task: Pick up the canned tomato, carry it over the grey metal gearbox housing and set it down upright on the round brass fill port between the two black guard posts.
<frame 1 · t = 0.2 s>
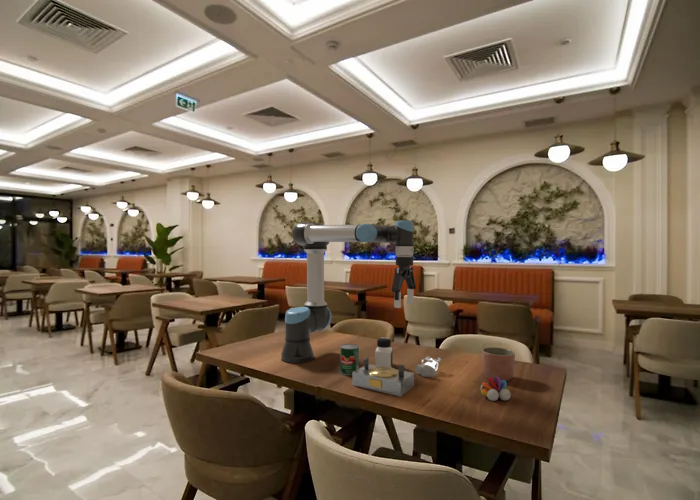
hand: (404, 305, 160), 27 cm above the table, fingers open, 13 cm apart
gearbox: (383, 385, 141), on the table
canned tomato: (349, 372, 156), on the table
planter: (497, 378, 150), on the table
medicine bottle: (383, 365, 165), on the table
rainbow wheeled toy: (495, 398, 131), on the table
figurine: (429, 374, 155), on the table
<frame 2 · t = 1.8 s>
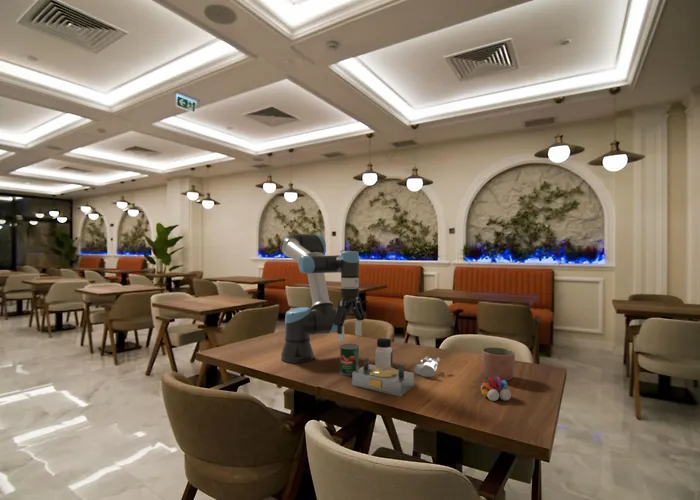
hand: (349, 338, 156), 14 cm above the table, fingers open, 13 cm apart
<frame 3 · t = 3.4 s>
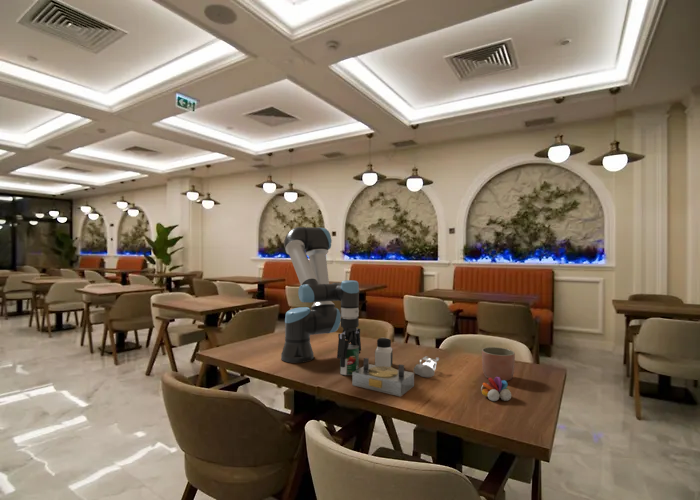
hand: (349, 371, 156), 0 cm above the table, fingers closed on canned tomato, 8 cm apart
canned tomato: (349, 372, 156), on the table, touching gripper
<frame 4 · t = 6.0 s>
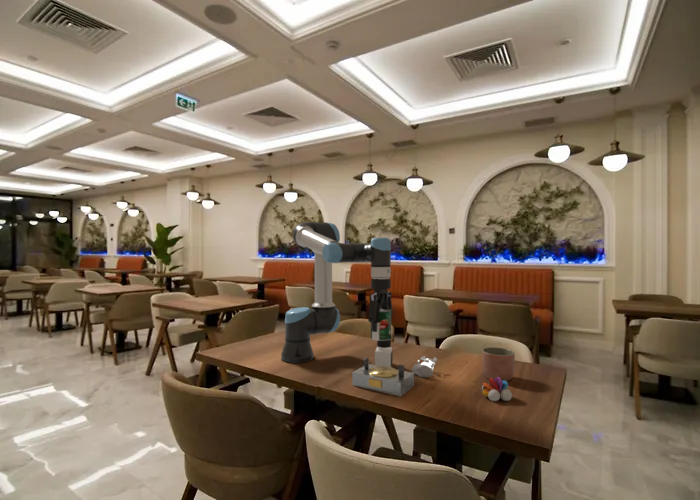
hand: (381, 337, 142), 18 cm above the table, fingers closed on canned tomato, 8 cm apart
canned tomato: (381, 338, 142), point 18 cm above the table, touching gripper
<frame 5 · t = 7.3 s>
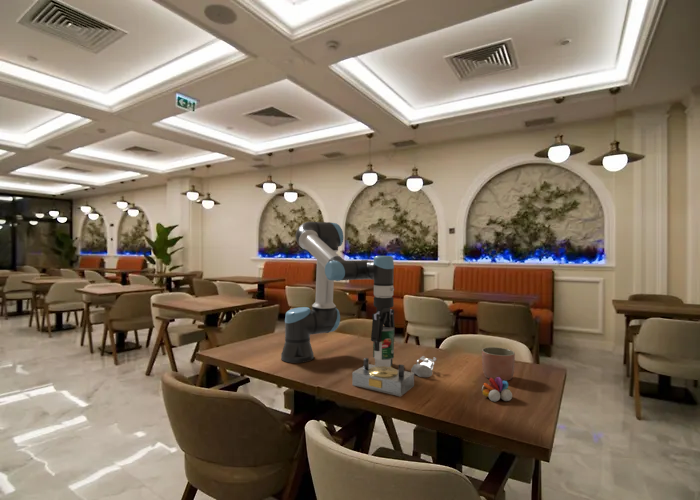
hand: (383, 356, 141), 11 cm above the table, fingers closed on canned tomato, 8 cm apart
canned tomato: (383, 357, 141), point 11 cm above the table, touching gripper
when the fingers open (7 cm above the table, at t = 8.4 s): canned tomato drops 1 cm, resting on gearbox.
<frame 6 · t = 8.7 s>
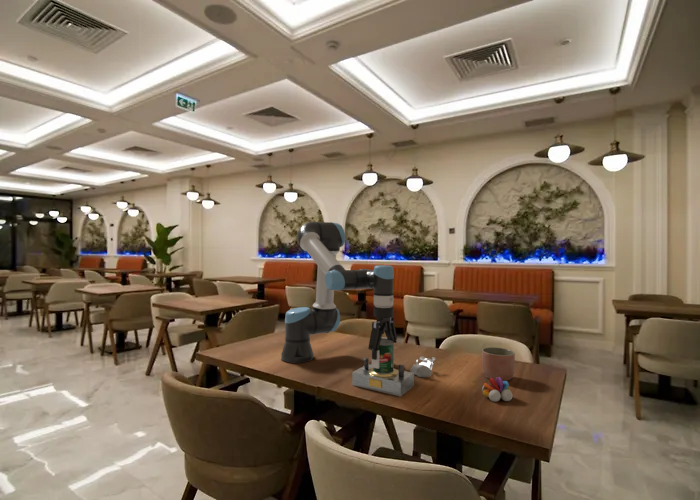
hand: (383, 363, 141), 8 cm above the table, fingers open, 11 cm apart
canned tomato: (383, 371, 141), point 5 cm above the table, touching gearbox
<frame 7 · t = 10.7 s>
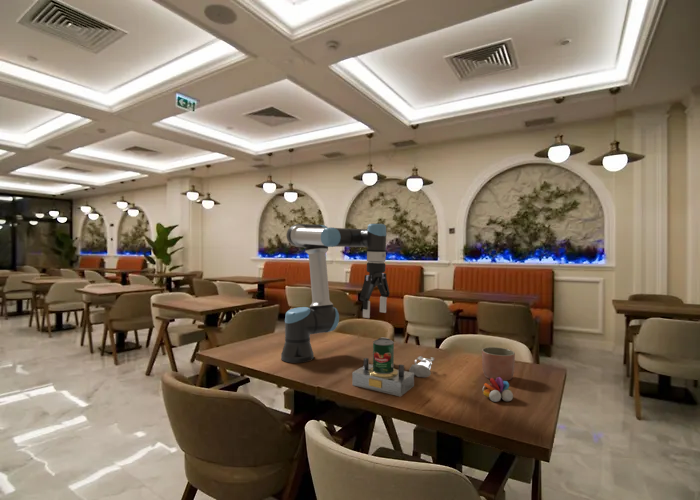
hand: (374, 314, 150), 25 cm above the table, fingers open, 13 cm apart
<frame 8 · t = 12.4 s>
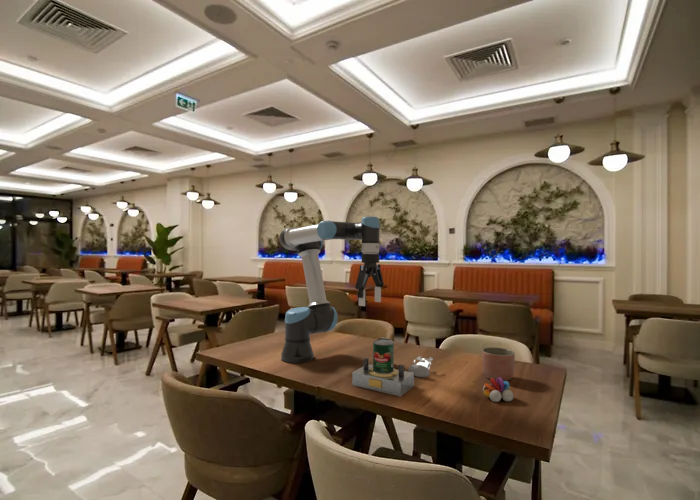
hand: (370, 303, 157), 29 cm above the table, fingers open, 13 cm apart
at the end: canned tomato 0.1 cm from the gearbox (horizontally); canned tomato point 5.4 cm above the table; canned tomato tilted 0° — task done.
